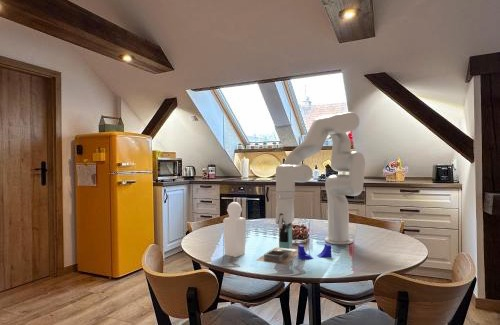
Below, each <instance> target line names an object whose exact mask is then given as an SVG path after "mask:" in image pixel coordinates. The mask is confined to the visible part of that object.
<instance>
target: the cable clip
mask: <svg viewBox="0 0 500 325" xmlns="http://www.w3.org/2000/svg"><path fill="white" fill-rule="evenodd" d="M297 250H298V255H297V256H298V257H299V259H300V260H314V257H312V255H310V254H308V253H306V251H305V246H304V245H303V244H302V243H301V244H297ZM316 257H318V258H320V259H321V258H332V245H331V243H324V247H323V250H321V252H320V253H319V254H317V255H316Z"/></svg>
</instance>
